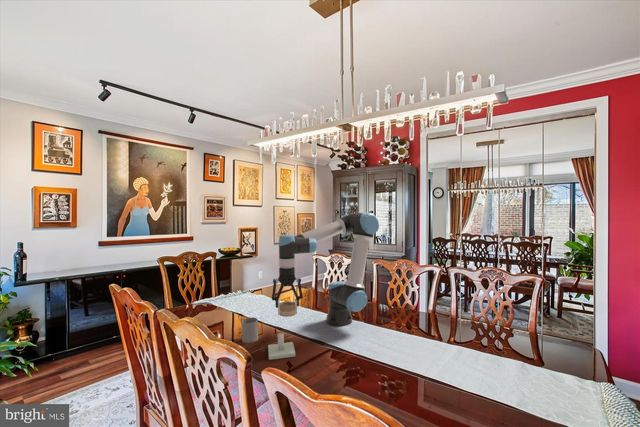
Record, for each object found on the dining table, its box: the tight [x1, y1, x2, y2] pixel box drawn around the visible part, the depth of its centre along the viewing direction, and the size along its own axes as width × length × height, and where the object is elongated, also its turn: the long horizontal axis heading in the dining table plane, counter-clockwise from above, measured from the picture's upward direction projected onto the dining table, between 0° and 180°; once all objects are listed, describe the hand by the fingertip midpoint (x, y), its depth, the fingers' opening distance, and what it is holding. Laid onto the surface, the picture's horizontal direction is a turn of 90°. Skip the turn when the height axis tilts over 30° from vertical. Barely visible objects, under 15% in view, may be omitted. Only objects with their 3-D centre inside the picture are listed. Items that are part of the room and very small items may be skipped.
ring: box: [279, 300, 297, 318], centre depth 149 cm, size 8×8×5 cm
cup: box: [240, 316, 259, 344], centre depth 160 cm, size 8×8×10 cm
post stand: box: [267, 332, 296, 361], centre depth 144 cm, size 12×12×8 cm
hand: (287, 313), depth 149 cm, fingers closed on ring, 8 cm apart
